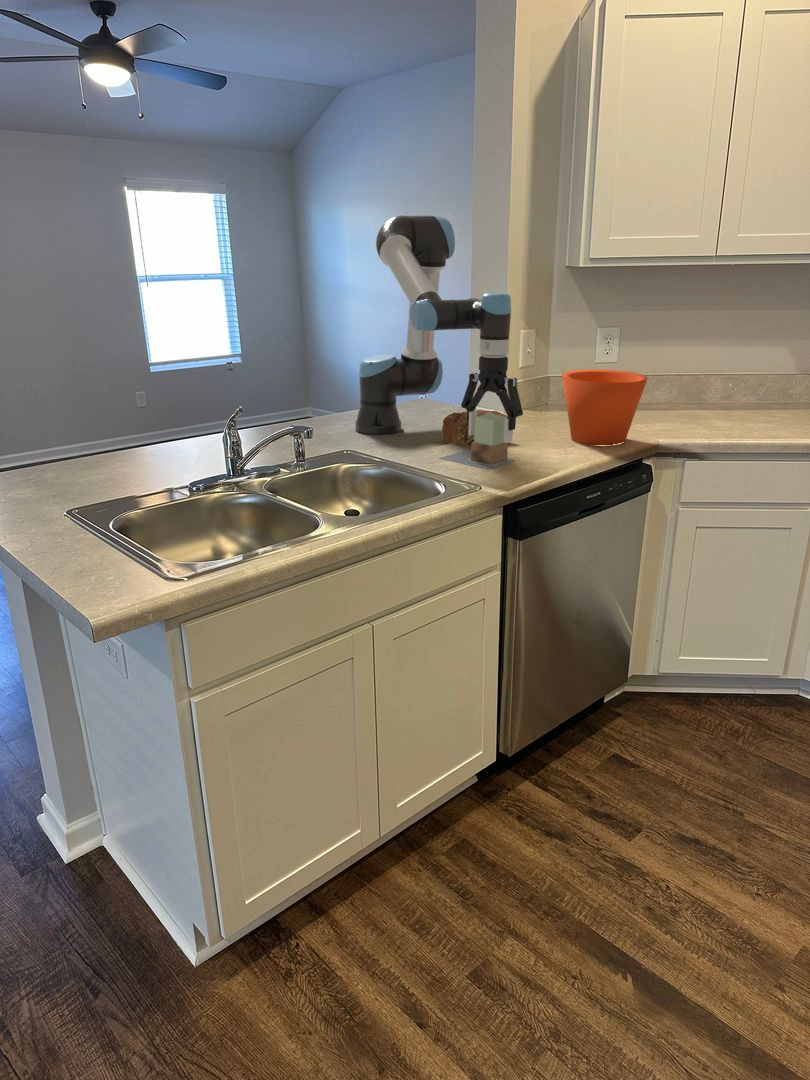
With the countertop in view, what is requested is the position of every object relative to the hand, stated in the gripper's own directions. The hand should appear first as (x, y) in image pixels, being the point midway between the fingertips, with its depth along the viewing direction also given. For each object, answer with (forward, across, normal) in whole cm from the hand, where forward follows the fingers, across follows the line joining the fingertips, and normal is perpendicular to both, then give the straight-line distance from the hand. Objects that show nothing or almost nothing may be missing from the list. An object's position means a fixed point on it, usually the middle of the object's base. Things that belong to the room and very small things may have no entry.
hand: (489, 438), depth 201 cm
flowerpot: (+7, +8, +46) cm, 47 cm away
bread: (+8, -18, +17) cm, 26 cm away
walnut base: (+6, 0, 0) cm, 6 cm away
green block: (+1, 0, 0) cm, 1 cm away
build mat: (+7, -3, -2) cm, 8 cm away
